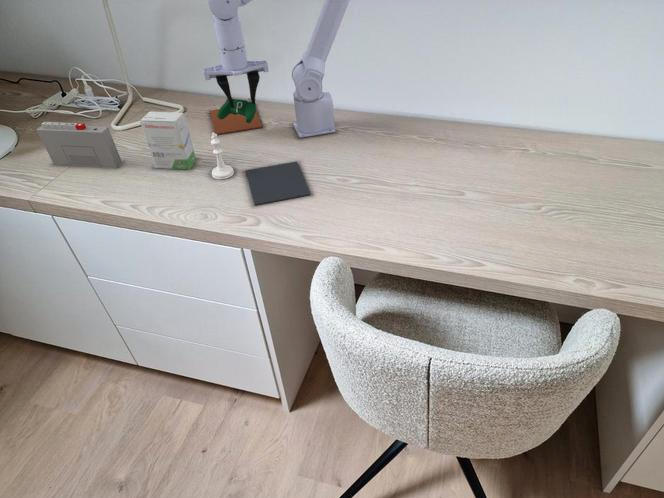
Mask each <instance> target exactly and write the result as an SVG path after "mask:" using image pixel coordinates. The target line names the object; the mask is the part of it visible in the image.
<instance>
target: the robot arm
mask: <svg viewBox="0 0 664 498" xmlns="http://www.w3.org/2000/svg"><path fill="white" fill-rule="evenodd" d="M252 1H253V0H208V8H209V10H210V12H211V13H212V21H213V23H214V24H213V28H214V33H215V38H216V42H217V48H218V51H219V55H220V61H221V62H220V63H221V64H218V65H215V66H211V67H206V68H202V71H203V76H204V80H205V81H210V80H211V79H215V80H216V83H217V85H218V87H219V88H220V89H221V90H222V91H223V93H224V95H225V96H226V98H227V99H228V100H229V102H230V105H231V108H234V104H233V100H232V98H233V96H232V94H231V93H232V92H231V88H230V83H229V79H228V77H231V76H234V77H237V76H242V75H246V78H247V82H248V87H249V88H248V89H249V97H250V98H249V99H251V100H252V104H254V105H255V103H256V95H257V89H258V86H259V82H260V77H261V76H260V73H262V72H263V73H268V72H269V71H270V70H269V64H268V62H267V60H248V57H247V53H246V52H247V51H246V46H245V40H244V33H243V28H242V24H241V21H240V19H239V13H238V11H239V8H240V7H245V6H246V5H248V4H249V3H251V2H252ZM349 3H350V0H323V3H322V6H321V9H320V12H319V14H318V17H317V19H316V22H315V25H314V28H313V30H312V34H311V36H310V39H309V42H308V45H307V47H306V50H305V51H304V52H303V53H302V54H301V56H300V59H299V60H298V62H297V63H296V64H295V65H294V66H293V68H292V70H291V79H292V81H293V82H294V87H295V90H294V92H293V104H294V113H295V122H293V123H292V125H293V127H294V129H295V131H296V134H297V136H298V138H299V139H303V138H309V137H315V136H320V135H327V134H333V133H336V131H337V130H336V127H335V109H334V102H333V98H332V94H331V93H330V91H329V92H328V91H326V92H325V91H323V79H324V77H325V74H326V73H325V71H326V62H327V59H328V57H329V54H330V51H331V49H332V46H333V45H334V41H335V39H336V37H337V34H338V31H339V29H340V26H341V23H342V21H343V18H344V16H345V14H346V10H347V8H348V5H349Z"/></svg>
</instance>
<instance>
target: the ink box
mask: <svg viewBox="0 0 664 498" xmlns="http://www.w3.org/2000/svg"><path fill="white" fill-rule="evenodd" d="M139 123H140V126H141V129H142V132H143V135H144V138H145V141H146V144H147V147H148V150H149V153H150V156H151V159H152V163H153V166H154V168H155V169H166V170H167V169H168V170H191V168H192V167H193V165H194V163H195V162H196V161H197V157H196V153H195V149H194V145H193V141H192V138H191V134H190V129H189V126H188V122H187V118H186V115H185V112H172V111H171V112H168V111H150V110H149V111H148V112H147V113H146V114H144V116H142V118H140V120H139Z"/></svg>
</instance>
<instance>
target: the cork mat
mask: <svg viewBox="0 0 664 498" xmlns="http://www.w3.org/2000/svg"><path fill="white" fill-rule="evenodd" d="M219 109H220V108H218V109H213V110H212V109H211V110H210V111H209V112H210V116H211V122H212V126H213V127H212V128H213V133H215V134H217V136H219V135H226V134H232V133H238V132H244V131H250V130H258V129H262V128H263V126H262V123H261V119H260V118H259V115H258V112H257V111H256V113H255V116H254V118H253V120H252V121H251V123H246V119H245V116H243V115H233V114H229V115H228V116H227V117H226V118H224V119H219V118H218V117H217V114H218V111H219Z"/></svg>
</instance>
